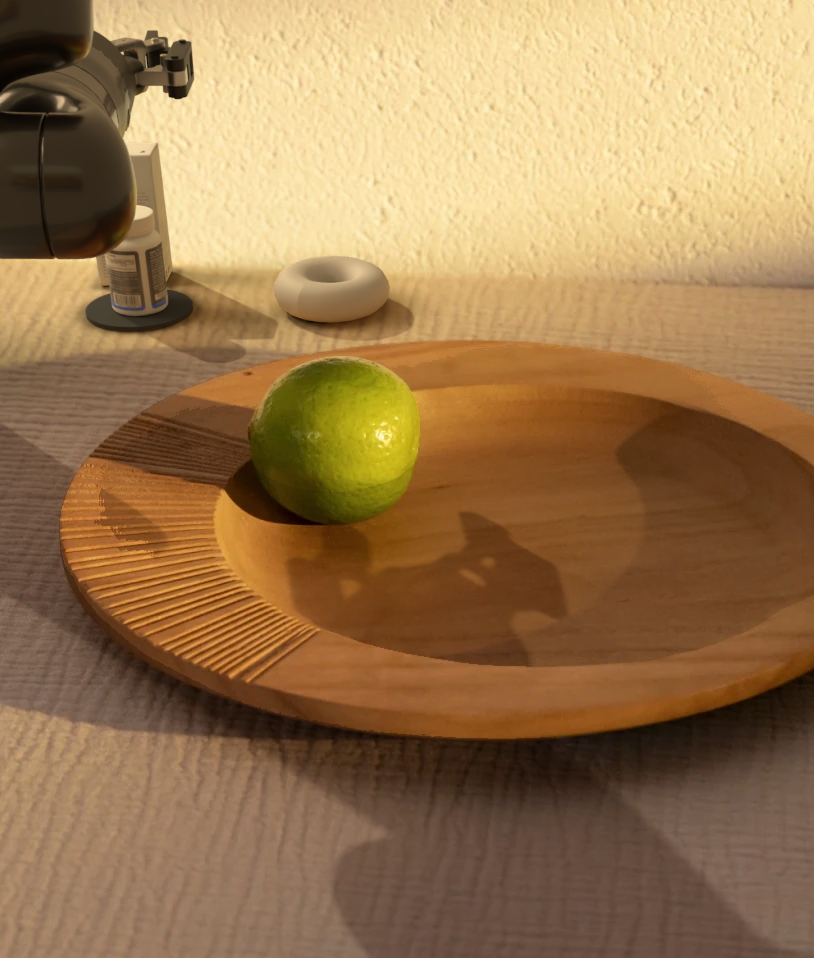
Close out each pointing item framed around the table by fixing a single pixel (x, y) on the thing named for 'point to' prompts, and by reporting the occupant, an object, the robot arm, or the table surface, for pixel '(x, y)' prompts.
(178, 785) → the table surface
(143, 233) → the pill bottle
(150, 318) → the coaster
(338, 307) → the donut
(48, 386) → the table surface
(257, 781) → the table surface
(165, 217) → the cosmetic box
